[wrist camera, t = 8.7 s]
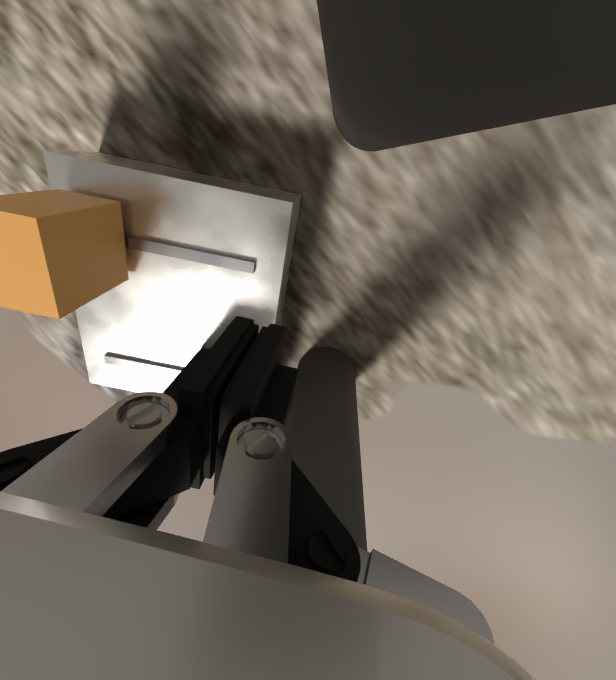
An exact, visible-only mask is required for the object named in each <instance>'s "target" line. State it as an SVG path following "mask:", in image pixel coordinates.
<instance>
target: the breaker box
mask: <svg viewBox="0 0 616 680" xmlns="http://www.w3.org/2000/svg"><path fill="white" fill-rule="evenodd" d="M43 153H44V158H45V163H46V168H47V173H48V178H49V183H50V187H51V190H54V189H62V190H67V191H71V192H76V193H81V194H86V195H91V196H96V197H100V198H105V199H110V200H115V201H120V202H121V210H122V220H123V229H124V239H125V249H126V258H127V268H128V277H129V280H127V281H125V282H123V283H122V284H120V285H118V286H116V287H115V288H113V289H111V290H109V291H108V292H106V293H104V294H102V295H101V296H99V297H97V298H95V299H94V300H92V301H90V302H88V303H87V304H85V305H83V306H81V307H80V308H78V309H76V310H75V311H76V316H77V320H78V325H79V330H80V335H81V340H82V345H83V350H84V355H85V360H86V365H87V370H88V375H89V380H90V383H93V384H99V385H104V386H109V387H114V388H119V389H124V390H129V391H134V392H139V393H140V392H159V393H163V391H164V390H165V389H166V388H167V387H168V386H169V384H170V383H171V382H172V381H173V380H174V379H175V377H176V376H177V375H178V374H179V373H180V372H181V370H182V369H183V368H184V367H185V366H186V365H187V363H188V362H189V361H190V360H191V359H192V357H193V356H194V355H195V353H197V352H198V351H199V349H201V348H202V347H205V348H211V347H212V346H213V344H214V343H215V342H216V341H217V339H218V338H219V337H220V336H221V334H222V333H223V332H224V331H225V329H226V328H227V327H228V326H229V324H230V323H231V322H232V321H233V319H234V318H235V317H236V316H241V317H245V318H250V319H253V320H254V324H257V325H259V332H260V330H261V328H262V327H263V326H265V327H268V326H269V324H270V323H271V324H276V325H280V326H281V321H282V315H283V308H284V302H285V296H286V289H287V283H288V277H289V270H290V264H291V258H292V251H293V245H294V239H295V232H296V226H297V220H298V213H299V207H300V201H301V194H296V193H292V192H287V191H282V190H277V189H273V188H268V187H263V186H258V185H253V184H249V183H244V182H239V181H234V180H230V179H225V178H220V177H215V176H211V175H206V174H201V173H196V172H191V171H187V170H182V169H177V168H172V167H168V166H163V165H158V164H153V163H148V162H144V161H139V160H134V159H129V158H125V157H120V156H115V155H110V154H106V153H101V152H81V151H45V150H43ZM259 332H258V334H259Z"/></svg>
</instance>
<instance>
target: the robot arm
mask: <svg viewBox="0 0 616 680" xmlns="http://www.w3.org/2000/svg"><path fill="white" fill-rule="evenodd" d="M286 329H287V328H286V327H284V326H280V325H276V324H271V323H270V324H269V326H268V327H265V326H263V327H262V328H261V330H260V332H259V325H257V324H254V320H253V319H250V318H245V317H241V316H236V317H235V318H234V319H233V321H232V322H231V323H230V324H229V326H228V327H227V328H226V329H225V331H224V332H223V333H222V334H221V336H220V337H219V338H218V339H217V341H216V342H215V343H214V344H213V346H212V347H211V348H205V347H202V348H201V349H199V351H198V352H197V353H196V354H195V355H194V356H193V358H192V359H191V360H190V361H189V362H188V363H187V365H186V366H185V367H184V368H183V369H182V370H181V372H180V373H179V374H178V375H177V376H176V377H175V379H174V380H173V381H172V382H171V383H170V384H169V386H168V387H167V388H166V389H165V390H164V391H163V393H159V392H140V393H135V394H132V395H130V396H127V397H125V398H123V399H122V400H120V401H118V402H117V403H116V404H114V405H113V406H112V407H111V408H109V409H108V410H107V411H105V412H104V413H103V414H101V415H100V416H99V417H97V418H96V419H95V420H93V421H92V422H91V423H90V424H88V425H87V426H86V427H84V428H83V429H80V430H76V431H72V432H69V433H65V434H62V435H58V436H55V437H51V438H48V439H44V440H41V441H37V442H34V443H30V444H26V445H23V446H20V447H16V448H12V449H9V450H6V451H3V452H0V680H536V679H534V677H532V676H531V675H530V674H529V673H528V672H527V671H526V670H525V669H523V668H522V667H521V666H520V665H519V664H518V663H517V662H516V661H515V660H513V659H512V658H511V657H509V656H508V655H507V654H505V653H504V652H503V651H502V650H500V649H499V648H497V647H496V646H495V645H494V641H493V637H492V633H491V630H490V627H489V625H488V624H487V622H486V620H485V618H484V616H483V615H482V613H481V612H480V611H479V610H478V608H477V607H476V606H475V605H474V604H473V602H472V601H471V600H469V599H468V598H466V597H465V596H464V595H462V594H461V593H459V592H458V591H456V590H454V589H452V588H449V587H447V586H446V585H444V584H442V583H440V582H438V581H436V580H434V579H432V578H430V577H428V576H426V575H424V574H422V573H420V572H418V571H416V570H414V569H412V568H410V567H408V566H406V565H404V564H402V563H400V562H398V561H396V560H394V559H392V558H390V557H388V556H386V555H384V554H382V553H380V552H378V551H376V550H374V549H373V550H372V552H371V553H370V552H368V551H366V550H364V549H362V548H360V547H358V546H357V544H356V543H355V541H354V539H353V538H352V536H351V534H350V533H349V532H348V530H347V529H346V528H345V527H344V525H343V524H342V523H341V521H340V520H339V519H338V518H337V516H336V515H335V514H334V512H333V511H332V510H331V508H330V507H329V506H328V505H327V503H326V502H325V501H324V499H323V498H322V497H321V496H320V494H319V493H318V492H317V490H316V489H315V488H314V487H313V485H312V484H311V483H310V481H309V480H308V479H307V478H306V476H305V475H304V474H303V472H302V471H301V470H300V468H299V467H298V466H297V465H296V463H295V462H294V461H293V459H292V439H291V435H290V433H289V431H288V430H287V428H286V425H287V421H288V418H289V414H290V410H291V406H292V402H293V398H294V393H295V389H296V384H297V379H298V375H299V369H296V368H291V367H287V366H283V365H281V359H282V353H283V347H284V342H285V336H286ZM258 332H259V334H258ZM214 472H215V479H214V496H215V497H214V502H213V505H212V509H211V513H210V517H209V521H208V524H207V528H206V532H205V536H204V540H203V542H200V541H197V540H193V539H189V538H185V537H181V536H177V535H173V534H169V533H165V532H161V531H157V529H158V527H159V526H160V524H161V523H162V522H163V520H164V519H165V518H166V516H167V515H168V513H169V512H170V511H171V509H172V508H173V507H174V505H175V503H176V501H177V499H178V496H179V493H181V492H183V491H185V490H187V489H190V487H192V488H196V489H200V487H201V485H202V483H203V481H204V479H205V478H209V479H211V478H212V476H213V474H214Z"/></svg>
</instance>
